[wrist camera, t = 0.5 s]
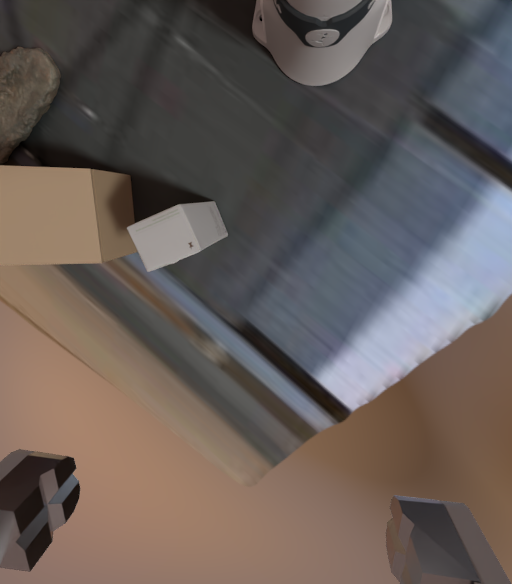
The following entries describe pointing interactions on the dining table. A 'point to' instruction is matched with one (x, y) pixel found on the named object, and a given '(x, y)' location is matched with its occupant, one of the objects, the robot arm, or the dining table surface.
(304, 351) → the dining table surface
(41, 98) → the long grey stone
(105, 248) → the carton
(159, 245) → the skincare box
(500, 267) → the dining table surface
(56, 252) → the lid flap
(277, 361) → the dining table surface
